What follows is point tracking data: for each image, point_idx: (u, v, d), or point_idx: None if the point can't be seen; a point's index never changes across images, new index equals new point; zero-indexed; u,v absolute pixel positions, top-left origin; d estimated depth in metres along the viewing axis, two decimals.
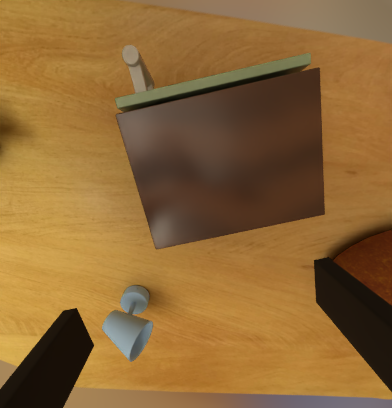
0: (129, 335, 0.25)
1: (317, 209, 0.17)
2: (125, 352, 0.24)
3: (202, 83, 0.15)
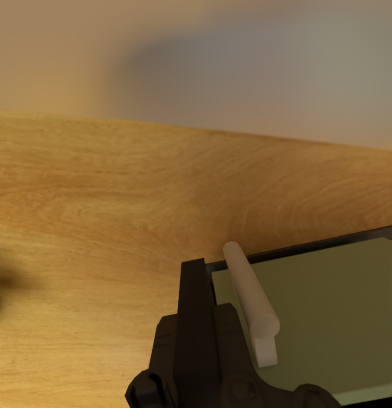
0: None
1: None
2: None
3: None
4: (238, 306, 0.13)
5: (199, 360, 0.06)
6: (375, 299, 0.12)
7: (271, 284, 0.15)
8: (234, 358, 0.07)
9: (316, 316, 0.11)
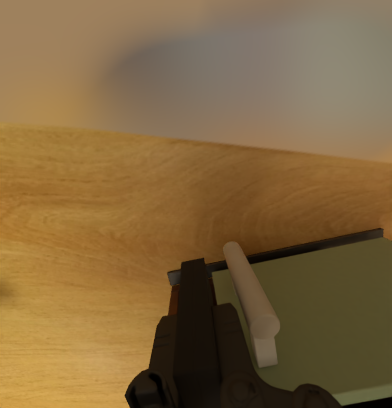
0: None
1: None
2: None
3: None
4: (238, 306, 0.13)
5: (199, 360, 0.06)
6: (375, 299, 0.12)
7: (271, 284, 0.15)
8: (234, 358, 0.07)
9: (316, 316, 0.11)
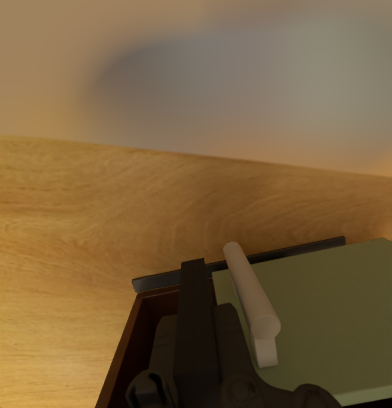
0: None
1: None
2: None
3: None
4: (239, 306, 0.13)
5: (199, 360, 0.06)
6: (375, 299, 0.12)
7: (271, 284, 0.15)
8: (234, 358, 0.07)
9: (316, 316, 0.11)
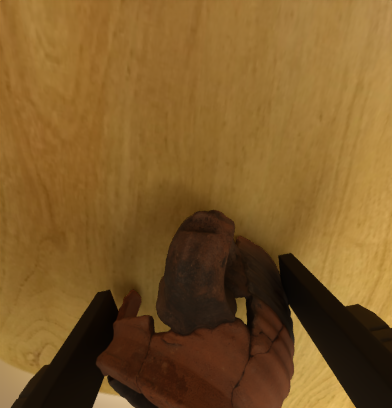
0: None
1: None
2: None
3: None
4: None
5: None
6: None
7: None
8: None
9: None
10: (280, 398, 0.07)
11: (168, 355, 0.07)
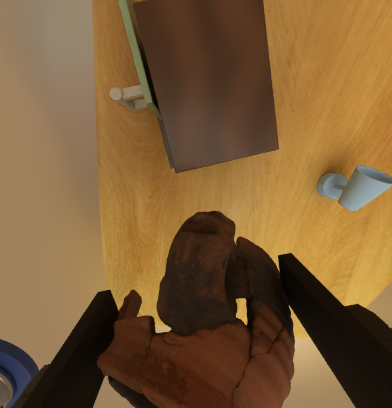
0: (365, 183, 0.26)
1: None
2: (383, 187, 0.25)
3: (128, 24, 0.19)
4: None
5: None
6: None
7: None
8: None
9: None
10: (280, 398, 0.07)
11: (169, 356, 0.07)
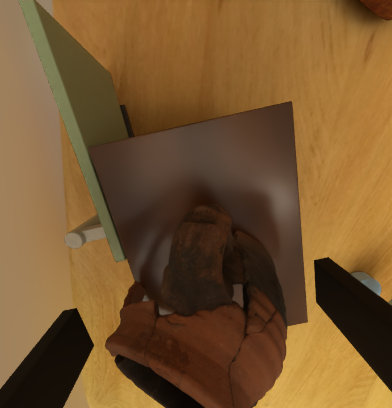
0: None
1: (282, 116, 0.11)
2: None
3: (85, 164, 0.12)
4: None
5: None
6: None
7: None
8: None
9: None
10: (273, 374, 0.08)
11: (172, 334, 0.07)
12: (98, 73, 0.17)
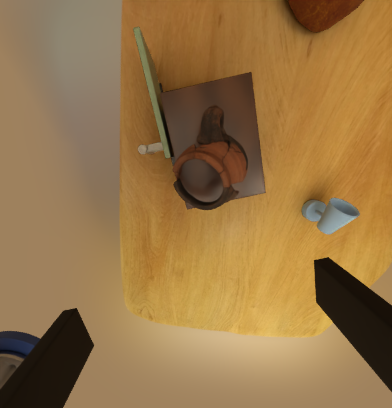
0: (335, 215, 0.33)
1: (247, 78, 0.24)
2: (349, 218, 0.32)
3: (155, 104, 0.26)
4: None
5: None
6: None
7: None
8: None
9: None
10: (239, 169, 0.21)
11: (202, 150, 0.21)
12: (152, 62, 0.30)
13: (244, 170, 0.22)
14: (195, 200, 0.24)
